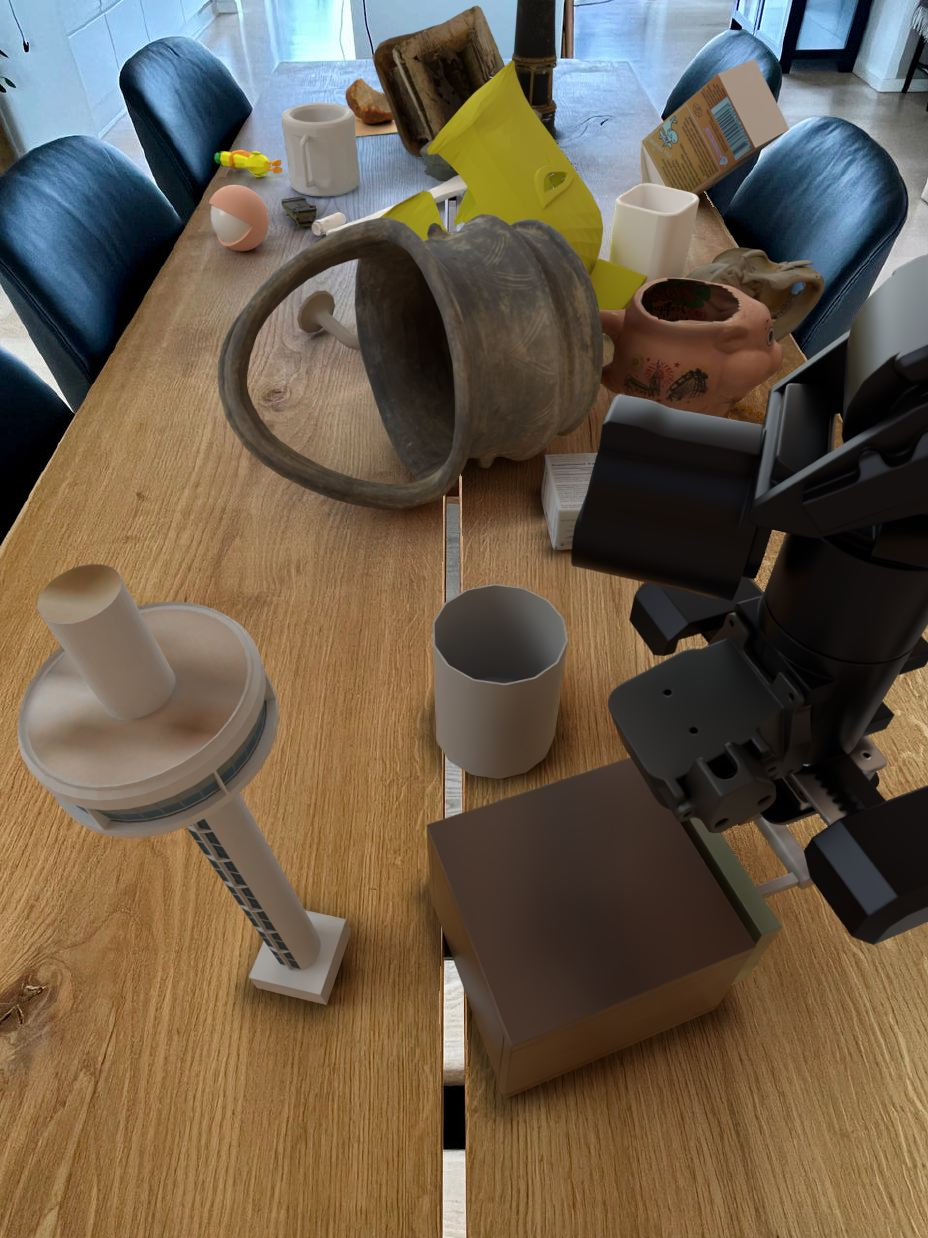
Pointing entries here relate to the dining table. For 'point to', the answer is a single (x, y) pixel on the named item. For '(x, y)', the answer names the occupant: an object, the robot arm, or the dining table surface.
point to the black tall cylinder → (536, 56)
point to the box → (564, 493)
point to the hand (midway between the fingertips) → (742, 817)
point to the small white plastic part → (328, 223)
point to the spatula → (438, 193)
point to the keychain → (749, 411)
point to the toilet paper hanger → (324, 319)
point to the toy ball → (238, 217)
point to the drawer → (741, 886)
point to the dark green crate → (300, 210)
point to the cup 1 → (497, 679)
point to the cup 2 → (653, 230)
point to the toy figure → (248, 162)
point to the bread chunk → (369, 110)
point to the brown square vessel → (435, 74)
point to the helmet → (519, 181)
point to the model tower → (171, 750)
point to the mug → (321, 148)
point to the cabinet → (579, 922)
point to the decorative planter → (690, 346)
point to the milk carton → (713, 132)
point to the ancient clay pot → (441, 349)
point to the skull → (767, 284)
